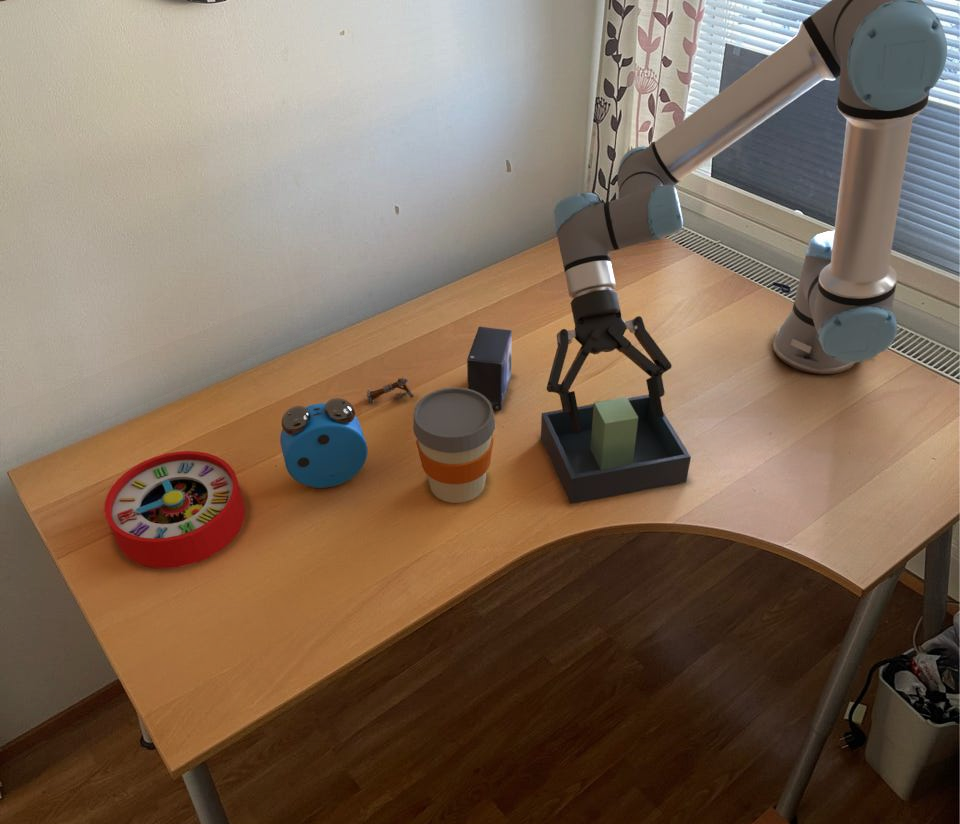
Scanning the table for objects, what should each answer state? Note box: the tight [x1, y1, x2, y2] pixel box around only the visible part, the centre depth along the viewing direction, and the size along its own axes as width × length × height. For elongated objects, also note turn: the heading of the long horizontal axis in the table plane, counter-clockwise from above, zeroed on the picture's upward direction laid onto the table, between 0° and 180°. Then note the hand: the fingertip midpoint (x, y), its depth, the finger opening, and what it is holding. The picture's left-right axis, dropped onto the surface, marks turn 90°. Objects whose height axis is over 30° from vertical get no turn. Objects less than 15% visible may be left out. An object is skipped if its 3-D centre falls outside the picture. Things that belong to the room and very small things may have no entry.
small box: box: [466, 326, 513, 411], centre depth 160 cm, size 11×6×10 cm, turn 168°
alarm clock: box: [279, 397, 369, 489], centre depth 144 cm, size 13×6×15 cm, turn 107°
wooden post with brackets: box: [366, 377, 414, 404], centre depth 162 cm, size 2×8×4 cm, turn 92°
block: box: [590, 396, 638, 470], centre depth 146 cm, size 6×6×10 cm
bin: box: [540, 393, 692, 505], centre depth 148 cm, size 20×17×6 cm
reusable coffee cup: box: [412, 387, 496, 504], centre depth 142 cm, size 13×13×15 cm
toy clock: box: [103, 450, 246, 570], centre depth 141 cm, size 20×6×20 cm
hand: (618, 425), depth 144 cm, fingers open, 13 cm apart
